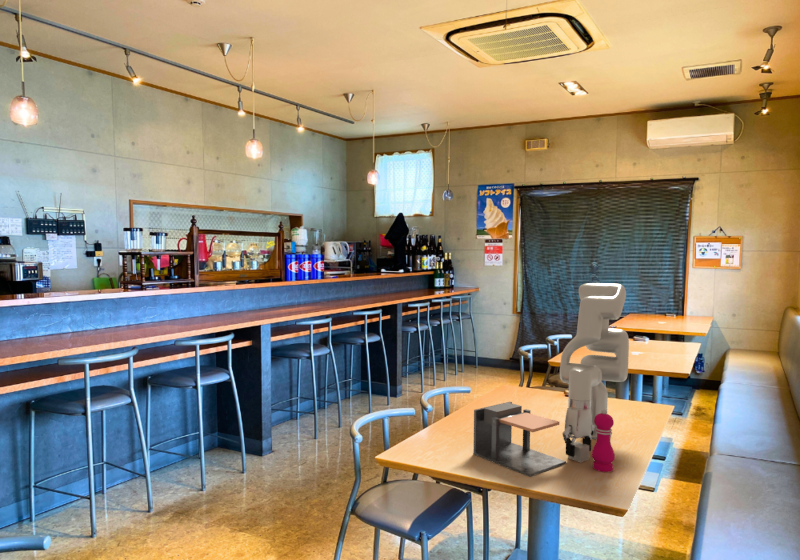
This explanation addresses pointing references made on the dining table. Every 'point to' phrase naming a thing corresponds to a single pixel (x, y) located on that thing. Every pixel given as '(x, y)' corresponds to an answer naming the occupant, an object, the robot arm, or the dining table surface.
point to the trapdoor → (517, 417)
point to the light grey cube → (580, 452)
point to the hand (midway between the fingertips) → (578, 452)
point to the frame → (508, 447)
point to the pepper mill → (603, 443)
